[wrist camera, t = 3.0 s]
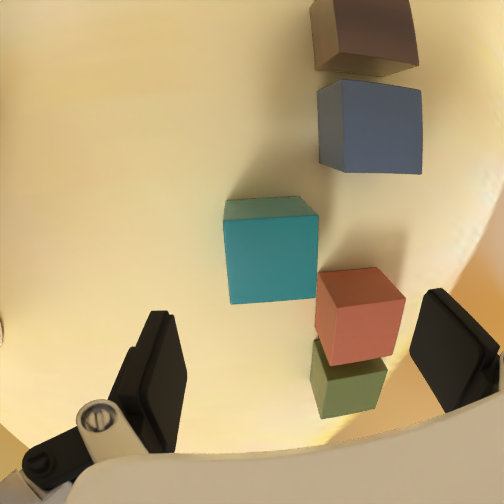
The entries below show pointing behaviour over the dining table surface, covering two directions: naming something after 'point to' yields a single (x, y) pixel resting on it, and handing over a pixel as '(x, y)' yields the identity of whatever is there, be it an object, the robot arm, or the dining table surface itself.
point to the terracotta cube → (357, 315)
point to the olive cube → (345, 384)
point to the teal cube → (270, 249)
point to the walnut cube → (363, 36)
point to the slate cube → (370, 127)
